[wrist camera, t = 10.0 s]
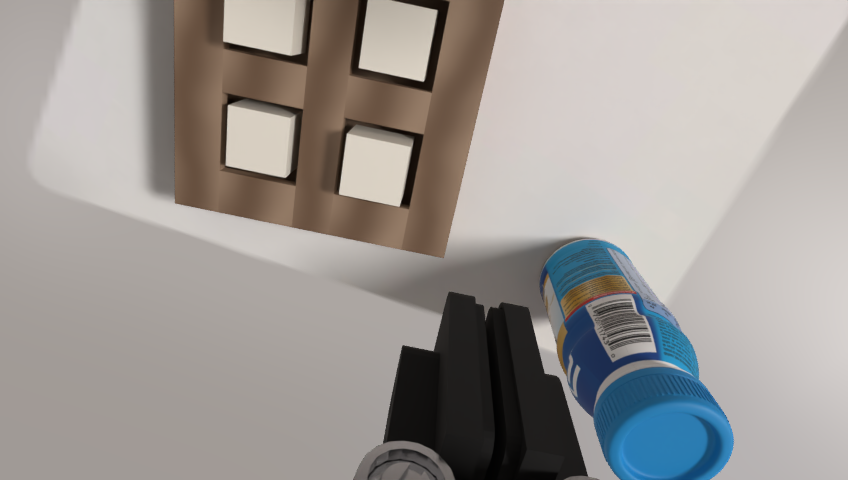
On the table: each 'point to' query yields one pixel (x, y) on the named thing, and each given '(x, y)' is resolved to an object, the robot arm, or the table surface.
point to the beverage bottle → (631, 367)
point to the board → (332, 119)
